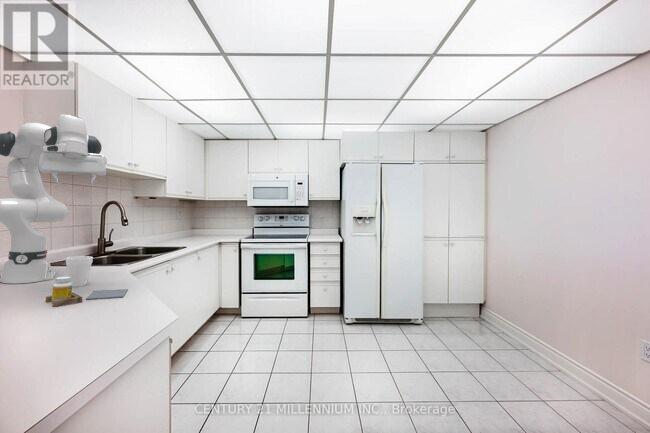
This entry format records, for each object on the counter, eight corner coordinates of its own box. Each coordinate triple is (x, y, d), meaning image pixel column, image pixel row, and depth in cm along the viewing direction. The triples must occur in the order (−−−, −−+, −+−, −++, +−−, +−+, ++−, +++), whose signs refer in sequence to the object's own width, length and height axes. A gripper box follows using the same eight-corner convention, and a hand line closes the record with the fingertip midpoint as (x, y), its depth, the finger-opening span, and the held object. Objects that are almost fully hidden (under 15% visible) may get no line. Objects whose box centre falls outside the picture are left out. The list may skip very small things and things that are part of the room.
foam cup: (87, 281, 131) (90, 255, 132) (93, 285, 126) (95, 258, 126) (61, 284, 124) (63, 257, 124) (65, 288, 118) (68, 259, 119)
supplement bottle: (52, 301, 102) (54, 276, 102) (71, 299, 105) (73, 275, 106) (50, 305, 98) (52, 279, 98) (70, 303, 101) (72, 278, 101)
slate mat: (93, 292, 116) (93, 290, 116) (127, 290, 122) (127, 288, 122) (85, 300, 106) (86, 298, 106) (122, 297, 112) (123, 296, 112)
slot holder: (53, 307, 96) (54, 301, 96) (45, 301, 101) (45, 296, 101) (82, 302, 103) (82, 297, 103) (73, 297, 108) (73, 292, 108)
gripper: (106, 157, 119) (108, 186, 117) (40, 152, 106) (41, 185, 104) (106, 152, 114) (108, 182, 113) (37, 146, 101) (38, 180, 99)
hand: (75, 184), depth 108 cm, fingers open, 8 cm apart
